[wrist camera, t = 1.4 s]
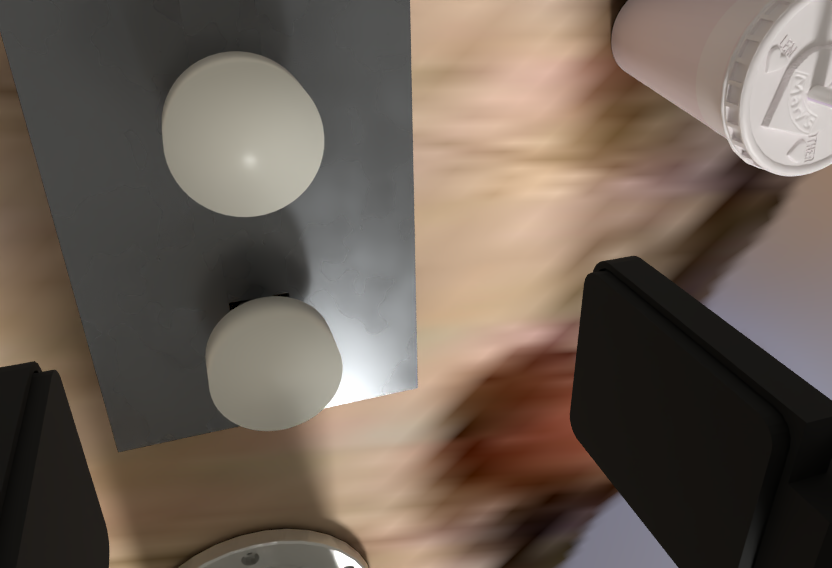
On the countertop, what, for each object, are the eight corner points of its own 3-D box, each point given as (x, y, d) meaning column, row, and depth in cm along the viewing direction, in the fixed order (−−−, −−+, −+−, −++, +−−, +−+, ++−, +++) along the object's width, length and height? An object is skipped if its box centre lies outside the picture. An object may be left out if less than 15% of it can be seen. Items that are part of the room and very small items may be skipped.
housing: (391, 339, 34) (417, 387, 31) (120, 391, 31) (118, 451, 28) (374, -60, 26) (408, -53, 23) (5, -45, 23) (-18, -33, 20)
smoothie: (560, 8, 29) (834, 87, 18) (690, -83, 29) (1052, -64, 18) (612, 134, 33) (870, 270, 21) (729, 53, 33) (1051, 145, 21)
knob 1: (302, 158, 26) (329, 206, 22) (172, 174, 25) (178, 227, 21) (289, 28, 24) (318, 55, 20) (147, 38, 22) (148, 70, 19)
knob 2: (320, 347, 30) (346, 415, 26) (209, 368, 28) (219, 443, 25) (310, 250, 28) (338, 308, 24) (190, 268, 26) (198, 333, 22)
